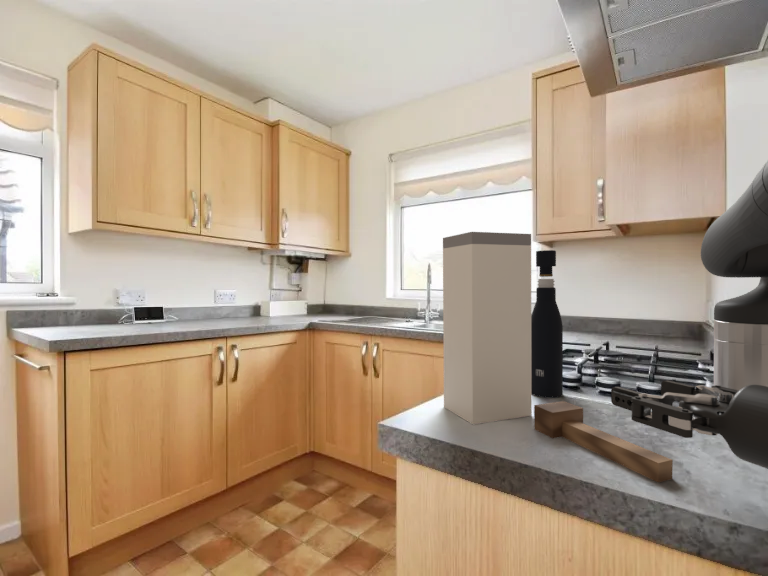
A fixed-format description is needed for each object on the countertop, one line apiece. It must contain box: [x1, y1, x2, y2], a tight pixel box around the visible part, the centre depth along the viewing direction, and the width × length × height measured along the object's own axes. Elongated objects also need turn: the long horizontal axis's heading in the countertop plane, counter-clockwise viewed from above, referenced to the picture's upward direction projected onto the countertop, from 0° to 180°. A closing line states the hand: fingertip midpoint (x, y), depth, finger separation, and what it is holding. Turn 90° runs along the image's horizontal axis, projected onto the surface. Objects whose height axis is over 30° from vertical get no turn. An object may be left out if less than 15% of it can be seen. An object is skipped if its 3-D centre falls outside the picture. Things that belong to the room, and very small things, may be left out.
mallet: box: [533, 400, 674, 483], centre depth 57 cm, size 19×6×4 cm, turn 20°
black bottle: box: [531, 249, 564, 399], centre depth 85 cm, size 6×6×30 cm
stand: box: [442, 231, 533, 425], centre depth 74 cm, size 10×12×32 cm
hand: (638, 391), depth 51 cm, fingers open, 8 cm apart
